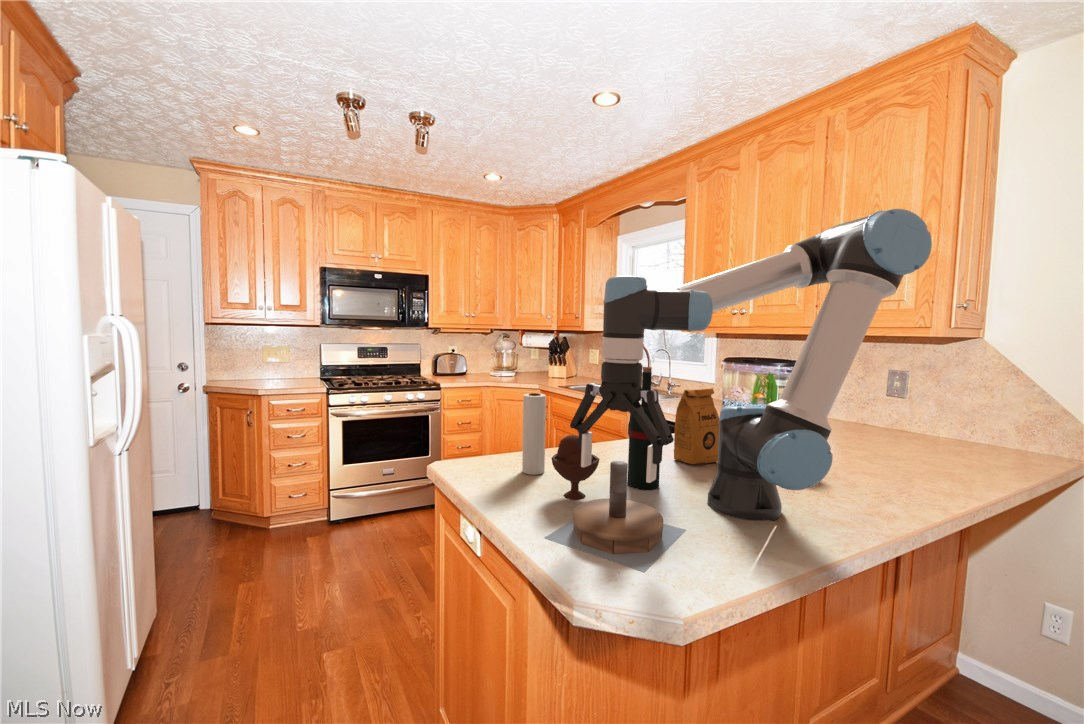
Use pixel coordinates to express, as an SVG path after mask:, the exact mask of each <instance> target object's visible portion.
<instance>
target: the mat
mask: <svg viewBox="0 0 1084 724" xmlns="http://www.w3.org/2000/svg"><path fill="white" fill-rule="evenodd" d="M573 526H574V523H573V519H572V520H571V521H569V522H568V523H566V524H564V525H562V526H561V527H560V528H558V529H556V530H554V531H553V532H551V533H549V534H548V535H546V536H544V538H543V539H546V540H548V541H551V542H554V543H557V544H560V545H563V546H566V547H569V548H572V549H575V550H578V551H581V552H583V553H587V554H589V555H592V556H595V557H597V558H601V559H604V560H606V561H609V562H613V563H616V564H619V565H622V566H624V567H628V568H630V569H633V570H635V571H639V572H642V573H646V571H648V570H649V568H650V567H652V565H653V564H654V563H655V562H657V560H658V559H659V558H661V556H662V555H663V554H664V553H665V552H667V551H668V549H669V548H670V547H671V546H672V545H673V544H674V543H675V542H677V540H678V539H679V538H680V537H681V536H682V535H683V534H684V533H685V532H686V531H687V529H684V528H680V527H679V526H678V527H677V526H673V525H670V524H667V523H663V531H662V540H661V541H660V542H659V543H658V544H657V545H656V546H655V547H654V548H652V549H651V550H650V551H649V552H644V553H629V554H610V553H607V552H604V551H601V550H598V549H595V548H592V547H589V546H586V545H583V544H581V542H580V541H579V539H578V537H577V535H576V533H575V531H574V529H573Z"/></svg>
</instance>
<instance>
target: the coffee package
mask: <svg viewBox="0 0 1084 724" xmlns="http://www.w3.org/2000/svg"><path fill="white" fill-rule="evenodd" d="M713 394H715V391H714V388H713V387H712V388H702V389H684V391H683V393H682V396H681V398H680V401H679V402H678V404H677V407H676V410H675V411H676V413H675V421H674V432H673V433H674V436H673V439H674V441H673V443H674V444H673V459H674V460H675V461H679V462H682V463H683V462H684V463H685V464H688V465H700V464H711V463H718V439H719V418H720V415H719V414H718V413H719V412H718V410H717V408H716V406H715V403H714V402H715V401H714V400H713V399H714V398H713V397H712V395H713Z"/></svg>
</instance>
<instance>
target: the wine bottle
mask: <svg viewBox="0 0 1084 724" xmlns="http://www.w3.org/2000/svg"><path fill="white" fill-rule="evenodd" d="M652 368H653V367H651V366H642V382H641V388H642V390H643V391H651V390H652V370H653V369H652ZM640 402H641V403H640V404H641V406H642V407H643V409H644V412H645V414H646V415H647V416H648V418H649V419H650V421H651V422H652V424H653V425H654V427H655V428H656V426H655V423H654V421H653V418H652V416H651V413H650V411H649V408H648V405H647V402H645V400H644V398H643V397H642V398H641V401H640ZM629 414H630V413H629ZM656 430H657V428H656ZM627 434H628V456H627V458H628V459H627V464H628V469H627V486H628V487H629V488H631V489H634V490H635V489H636V490H640V491H655V490H658V489H659V487H660V470H661V469H660V468H661V463H660V464H658V465H657V470H656V480H654V481H652V482H651V483H648V482H646V475H647V454H648V446H650V445H652V443H651V442H650V440H649V439H648V437H647V436H646V434H645V433H644V431H643V430H642V428H641V427H640V425H639V424H638V422H637V421H636V419H635V418H634V417H633V416H632V415H631V414H630V415H629V422H628V424H627Z"/></svg>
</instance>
